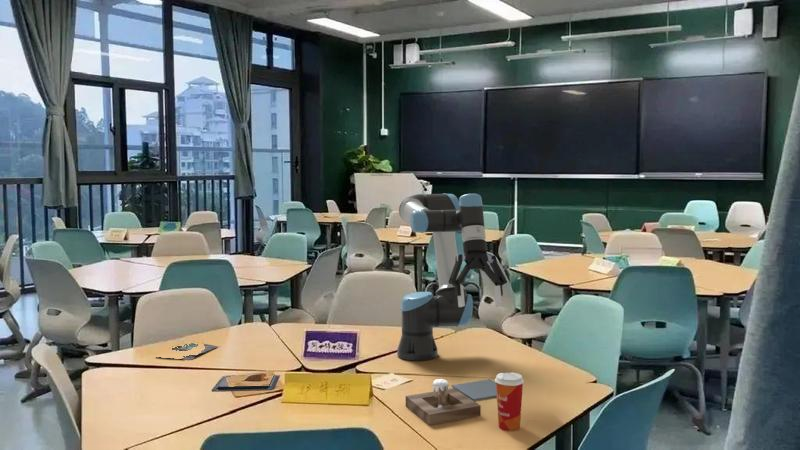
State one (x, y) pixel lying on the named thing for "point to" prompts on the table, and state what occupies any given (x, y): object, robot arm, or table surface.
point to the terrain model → (191, 357)
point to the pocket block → (457, 411)
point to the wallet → (224, 387)
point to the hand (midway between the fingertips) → (480, 306)
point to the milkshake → (440, 392)
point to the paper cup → (509, 400)
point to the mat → (478, 389)
